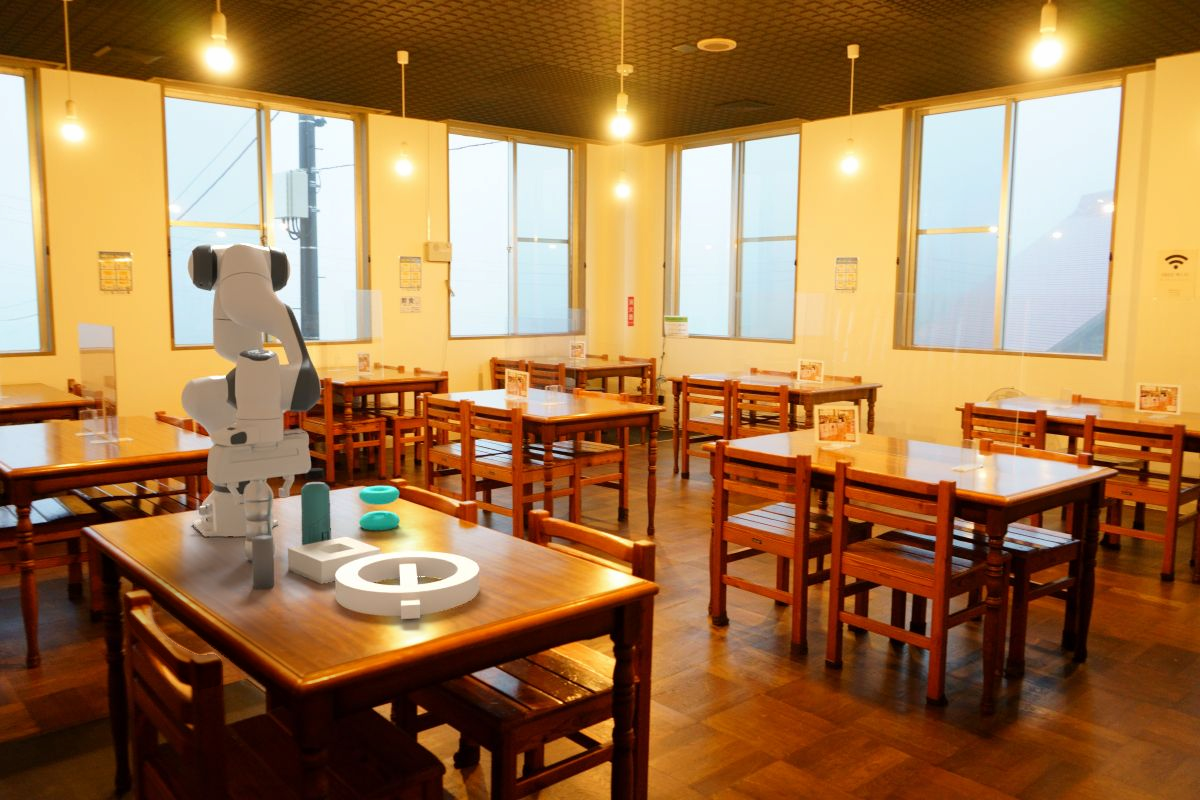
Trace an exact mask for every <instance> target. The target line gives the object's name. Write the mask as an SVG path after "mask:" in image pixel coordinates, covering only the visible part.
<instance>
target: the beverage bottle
mask: <svg viewBox="0 0 1200 800" xmlns="http://www.w3.org/2000/svg"><path fill="white" fill-rule="evenodd" d="M304 476H305V479H306V480H309V481H310V480H311V482H307V483H305V484H304V485H303V486H302V487H301V488H300V493H301V494H300V497H301V498H300V500H301V501H300V503H301V536H300V537H301V545H306V544H311V543H316V542H321V541H326V540H331V539H332V528H331V498H330V497H331V496H330V489H331V488H330V486H329V485H328V484H326V483H325V482H323V481H322V482H321V481H313V480H323V479H324V478H325V471H324V468H320V467H311V468H310V470H309V472H308V473H305V475H304Z"/></svg>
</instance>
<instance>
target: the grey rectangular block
mask: <svg viewBox="0 0 1200 800" xmlns="http://www.w3.org/2000/svg"><path fill="white" fill-rule="evenodd" d="M273 539H274V536H268V535H263V536H256V537H253V538H252V560H253V561H252V587H253V589H255V590H268V589H271V588H270V587H272V588H274V587H275V568H274V567H275V564H274V563H275V559H274V555H275V552H274V553H273ZM273 586H274V587H273ZM267 588H268V589H267Z"/></svg>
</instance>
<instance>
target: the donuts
mask: <svg viewBox="0 0 1200 800" xmlns="http://www.w3.org/2000/svg"><path fill="white" fill-rule="evenodd" d="M358 496H359V499H360V500H361V501H362V502H363V503H365V504H367V505H368V504H369V505H374V506H376V505H377V506H381V505H388V504H391V503H394V502H395V501H397V500H398V498H399V497H400V491H399V489H397V487H395V486H391V485H374V486H373V485H372V486H367V487H364V488H362V489H361V490H360V491H359V494H358ZM400 522H401V521H400V517H399V516H398V515H397V513H394V512H392V511H388V510H387V511H386V510H376V511H369V512H366V513H365V514H362V516H361V517H360V518H359V526H360V527H361V528H362V529H364V530H367V531H373V532H374V531H375V532H376V531H379V532H380V531H387V530H392V529H395V528H396V527H398V526H399V524H400Z"/></svg>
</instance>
